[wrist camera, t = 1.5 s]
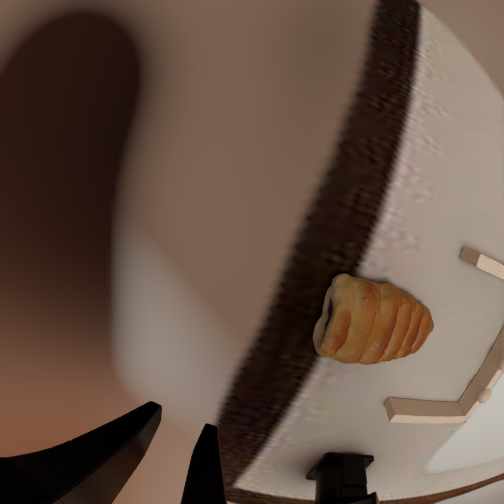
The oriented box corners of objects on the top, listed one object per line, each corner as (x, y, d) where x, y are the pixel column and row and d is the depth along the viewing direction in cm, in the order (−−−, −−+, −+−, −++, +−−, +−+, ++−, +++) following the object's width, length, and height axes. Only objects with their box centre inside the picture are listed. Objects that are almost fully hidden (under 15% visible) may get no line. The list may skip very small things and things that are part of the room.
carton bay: (459, 408, 20) (469, 427, 16) (384, 404, 21) (391, 428, 17) (529, 280, 15) (549, 291, 12) (463, 246, 16) (487, 256, 13)
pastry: (436, 287, 18) (458, 306, 14) (407, 357, 20) (421, 384, 16) (328, 266, 19) (335, 284, 15) (307, 345, 21) (307, 374, 17)
